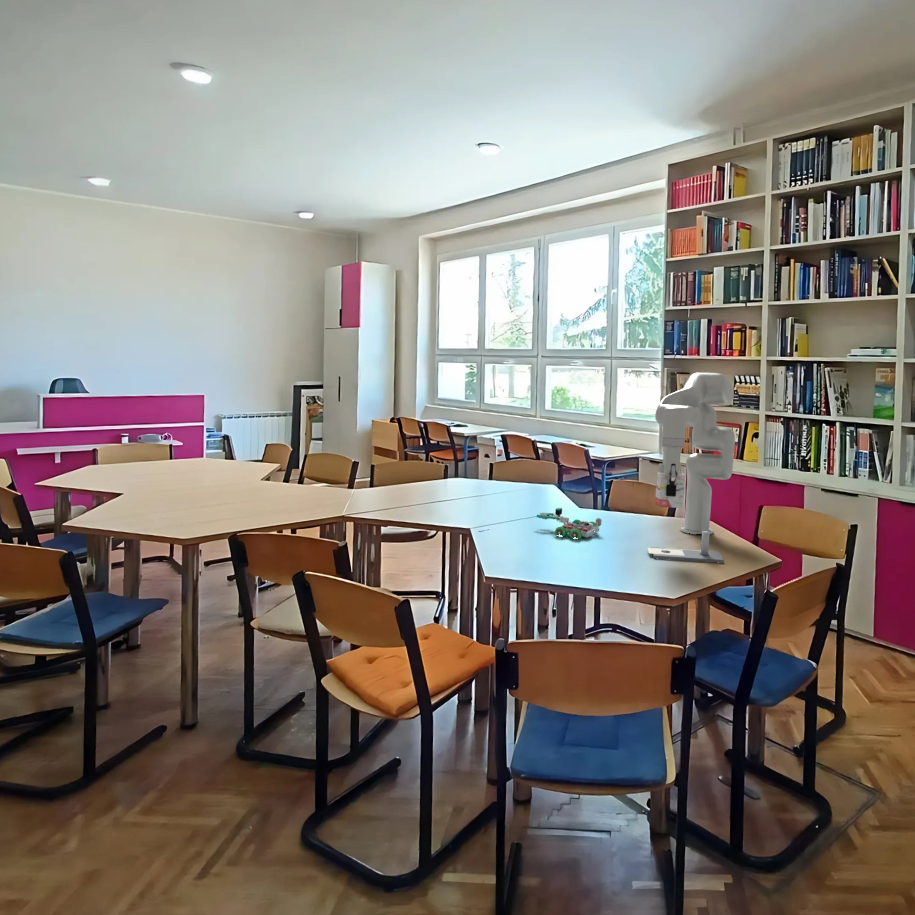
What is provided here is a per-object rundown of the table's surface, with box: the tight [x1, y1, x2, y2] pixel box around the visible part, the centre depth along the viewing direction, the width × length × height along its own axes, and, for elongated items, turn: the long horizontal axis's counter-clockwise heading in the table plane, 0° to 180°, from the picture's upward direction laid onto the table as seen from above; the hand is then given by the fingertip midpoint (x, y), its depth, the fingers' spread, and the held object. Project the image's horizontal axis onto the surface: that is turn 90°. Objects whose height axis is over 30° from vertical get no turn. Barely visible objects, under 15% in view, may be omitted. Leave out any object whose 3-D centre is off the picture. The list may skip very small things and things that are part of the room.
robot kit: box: [536, 507, 603, 540], centre depth 293 cm, size 19×25×9 cm
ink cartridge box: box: [654, 463, 686, 509], centre depth 260 cm, size 9×5×15 cm, turn 92°
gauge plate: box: [646, 531, 725, 564], centre depth 261 cm, size 12×24×9 cm, turn 80°
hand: (669, 494), depth 260 cm, fingers closed on ink cartridge box, 5 cm apart
